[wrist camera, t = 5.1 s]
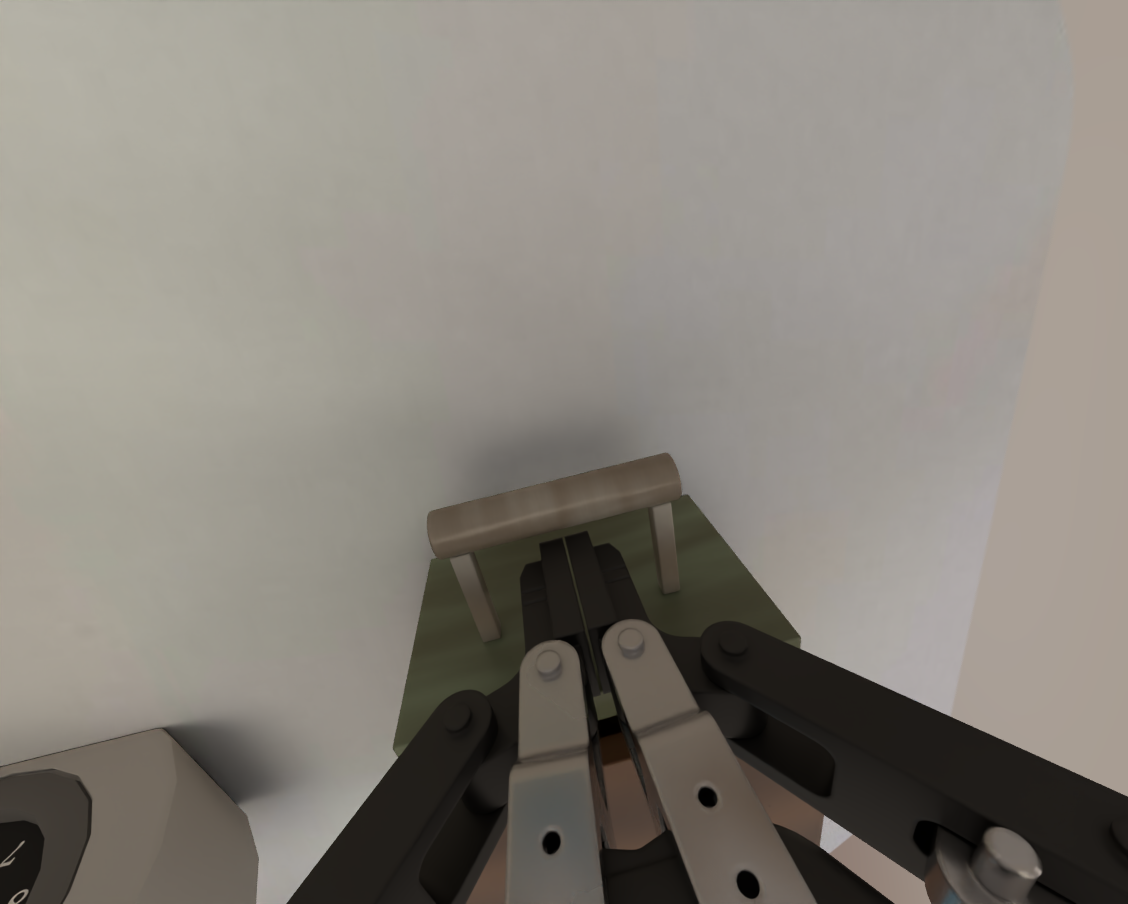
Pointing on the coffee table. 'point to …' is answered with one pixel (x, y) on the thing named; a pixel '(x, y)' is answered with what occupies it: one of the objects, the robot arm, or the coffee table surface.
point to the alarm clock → (122, 829)
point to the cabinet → (636, 820)
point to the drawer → (556, 509)
